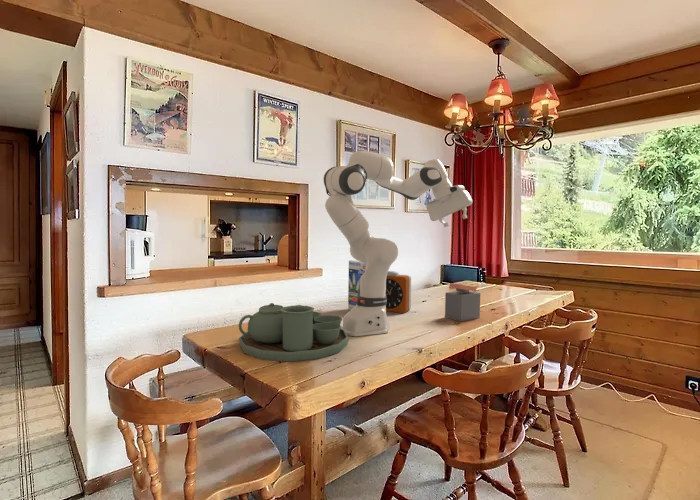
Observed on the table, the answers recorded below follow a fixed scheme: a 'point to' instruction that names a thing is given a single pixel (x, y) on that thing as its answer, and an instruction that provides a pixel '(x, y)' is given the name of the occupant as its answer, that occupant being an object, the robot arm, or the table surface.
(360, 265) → the string lights box
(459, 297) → the switch box
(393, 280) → the alarm clock
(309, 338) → the tea set
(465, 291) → the rocker
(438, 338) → the table surface
